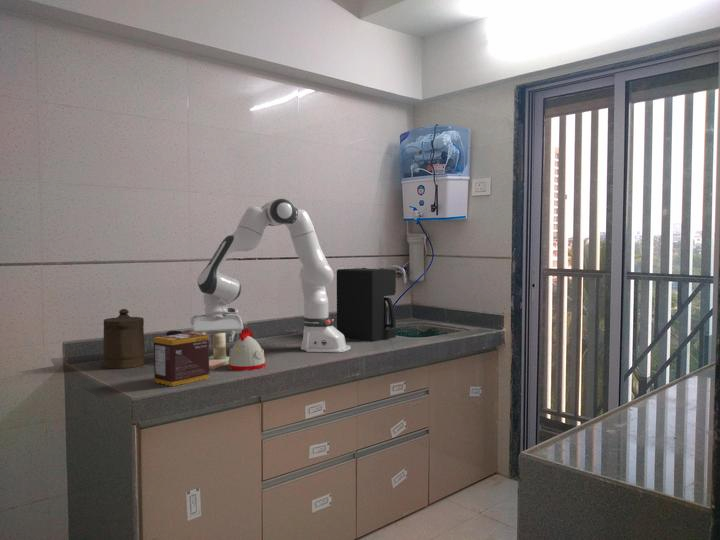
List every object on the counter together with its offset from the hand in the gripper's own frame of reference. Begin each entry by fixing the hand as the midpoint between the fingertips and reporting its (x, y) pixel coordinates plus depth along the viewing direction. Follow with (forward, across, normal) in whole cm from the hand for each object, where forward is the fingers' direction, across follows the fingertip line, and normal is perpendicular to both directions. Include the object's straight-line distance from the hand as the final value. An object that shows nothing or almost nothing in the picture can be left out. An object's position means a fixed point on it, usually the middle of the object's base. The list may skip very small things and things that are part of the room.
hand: (219, 341), depth 227 cm
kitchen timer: (+16, +8, -4) cm, 18 cm away
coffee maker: (-18, +79, +30) cm, 86 cm away
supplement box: (+26, -16, -14) cm, 34 cm away
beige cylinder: (+4, 0, +5) cm, 7 cm away
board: (+8, -3, +4) cm, 9 cm away
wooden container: (0, -36, +11) cm, 37 cm away
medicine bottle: (-1, -17, +13) cm, 21 cm away
